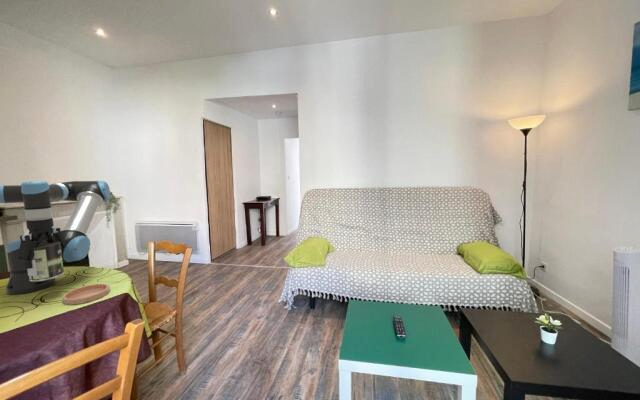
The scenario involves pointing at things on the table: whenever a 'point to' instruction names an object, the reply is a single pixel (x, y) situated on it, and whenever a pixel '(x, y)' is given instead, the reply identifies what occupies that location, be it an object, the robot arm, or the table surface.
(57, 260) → the coffee can
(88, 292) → the saucer
